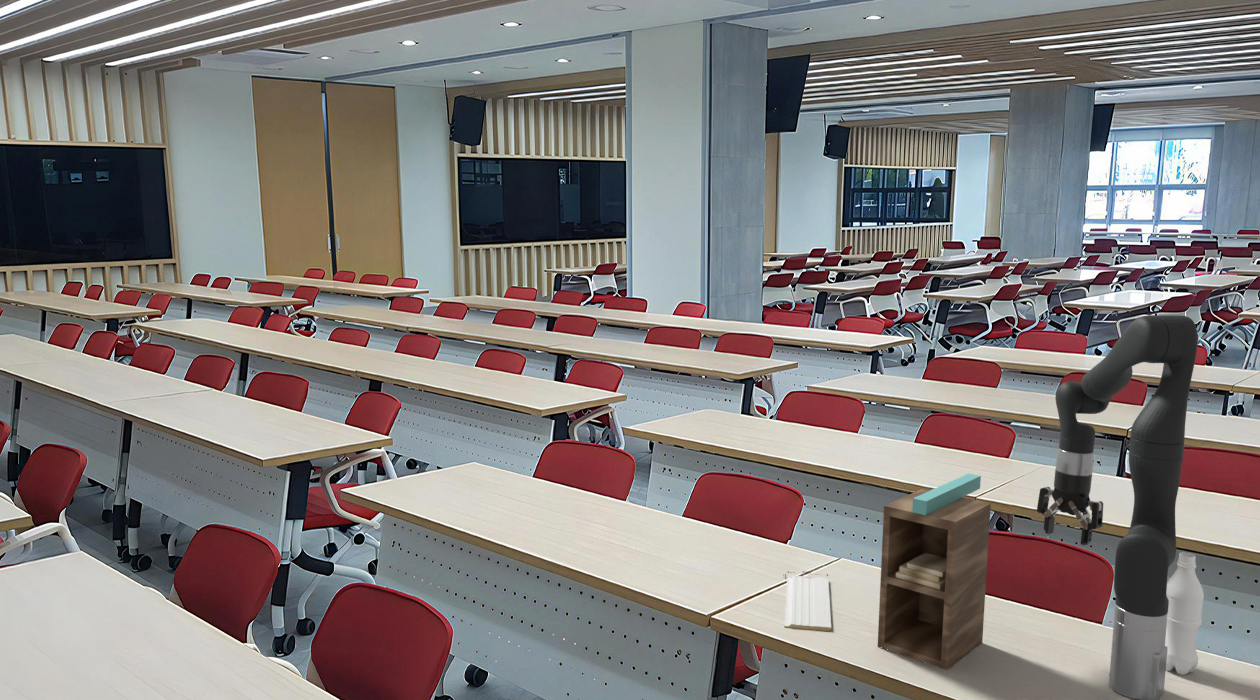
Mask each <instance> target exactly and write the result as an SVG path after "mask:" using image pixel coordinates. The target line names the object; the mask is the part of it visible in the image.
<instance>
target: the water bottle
mask: <svg viewBox="0 0 1260 700" xmlns="http://www.w3.org/2000/svg"><path fill="white" fill-rule="evenodd" d="M1176 566H1177V567H1176V570H1175V572H1174V573H1173V574H1172V575H1171V576H1170V578H1169V579H1168V580H1167V590H1166V595H1167V598H1168V600H1169V606H1168V616H1167V627H1166V639H1165V646H1167V648H1168V649H1167V661H1166V671H1167V672H1168V671H1169V672H1170V671H1172V669H1173V668H1175V671H1176V673H1177V674H1178V675H1187V674H1188V673H1193V672H1194V671H1195V670H1196V669H1197V666H1198V662H1199V656H1198V652H1197V649H1196V648H1197V647H1196V637H1197V633H1198V631H1199V628H1200V627H1201V625H1202V623H1203V621H1202V613H1203V604H1204V599H1205V593H1204V589H1203V587H1202V584H1201V583H1200V580H1199V577H1198V576H1197V575H1196V568H1197V562H1196V554H1194V553H1190V552H1183V551H1182V552H1181V551H1180V552H1179V554H1178V559H1177V562H1176Z"/></svg>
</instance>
